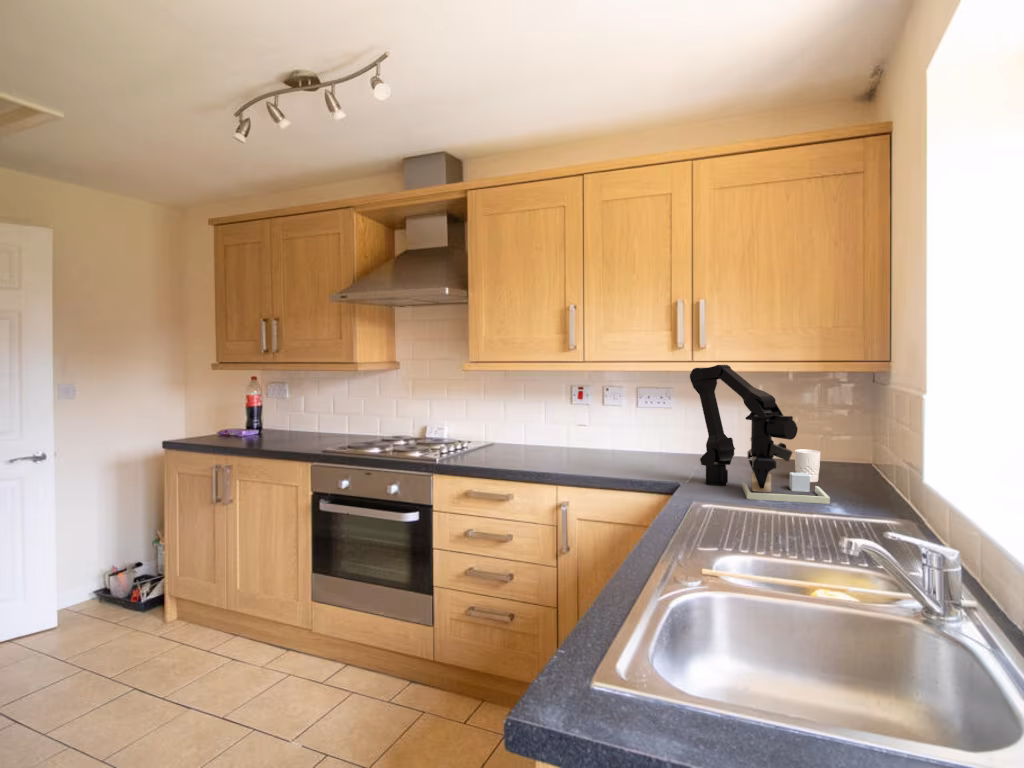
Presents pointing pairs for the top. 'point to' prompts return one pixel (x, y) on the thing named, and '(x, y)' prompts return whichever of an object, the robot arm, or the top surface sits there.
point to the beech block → (756, 486)
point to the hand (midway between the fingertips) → (760, 486)
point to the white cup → (808, 463)
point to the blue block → (799, 482)
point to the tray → (789, 496)
